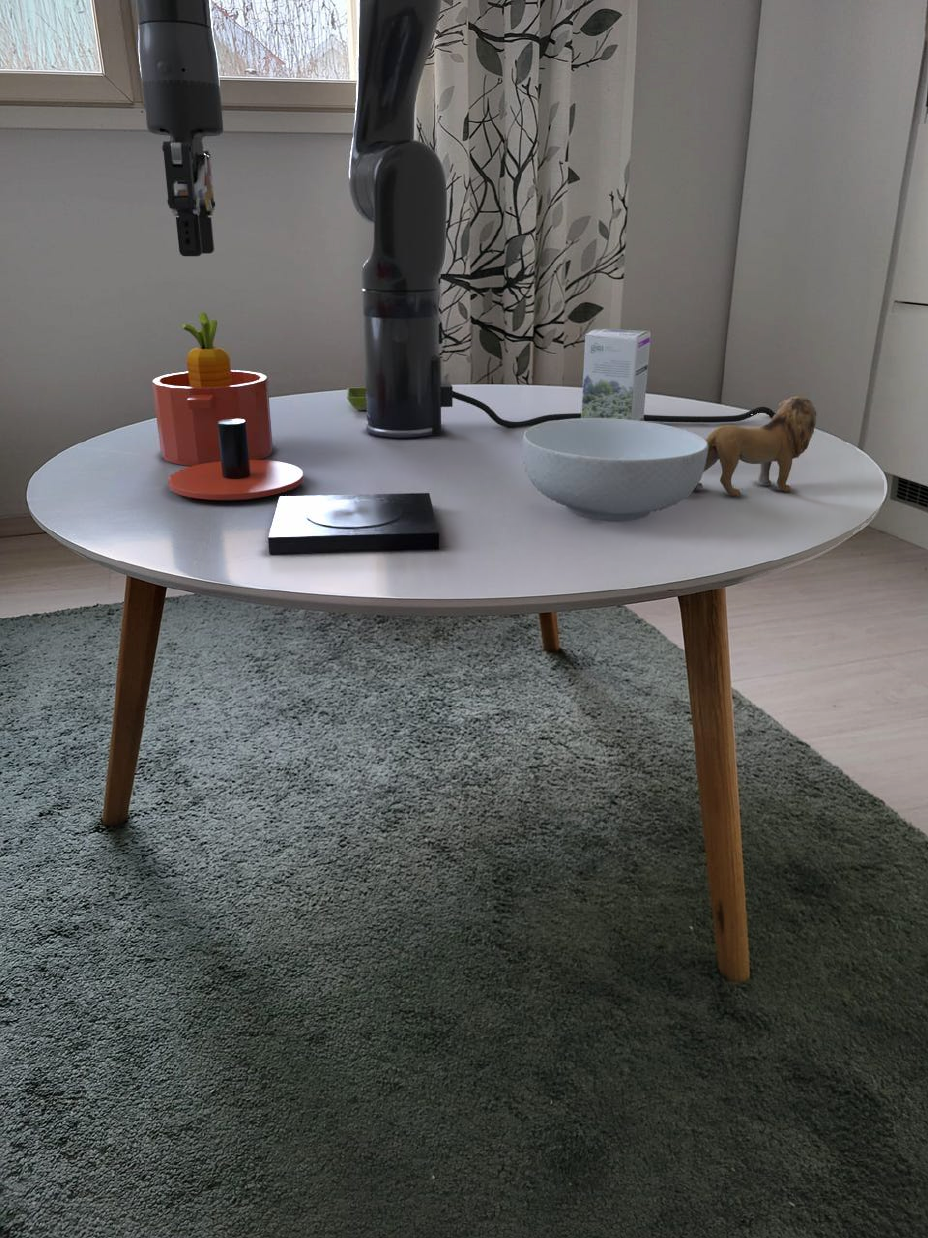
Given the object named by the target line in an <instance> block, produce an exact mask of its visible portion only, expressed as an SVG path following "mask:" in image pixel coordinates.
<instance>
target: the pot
mask: <svg viewBox="0 0 928 1238" xmlns="http://www.w3.org/2000/svg"><path fill="white" fill-rule="evenodd" d="M268 381H269V380H268V376H267V375H265V374H263V373H261V372H256V371H249V370H232V369H231V385H232V386H220V387H190V382H189V376H188V371H183V372H175V373H168V374H165V375H161V376H158V377H155V378H154V379H153V380H151V385H152V394H153V401H154V410H155V418H156V425H157V433H158V440H159V448H160V453H161V456H162V459H163V460H164V461H166V462H168V463H172V464H175V465H180V466H188V467H191V466H195V465H200V464H205V463H211V462H219V461H221V457H220V448H219V438H218V428H217V422H218V421H220V420H224V419H242V420H245V421H246V428H247V439H248V450H249V460H263V459H265V458H267V457H269V456H270V455H271V454H272V453H273V434H272V433H273V431H272V420H271V408H270V407H271V406H270V394H269V382H268Z"/></svg>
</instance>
